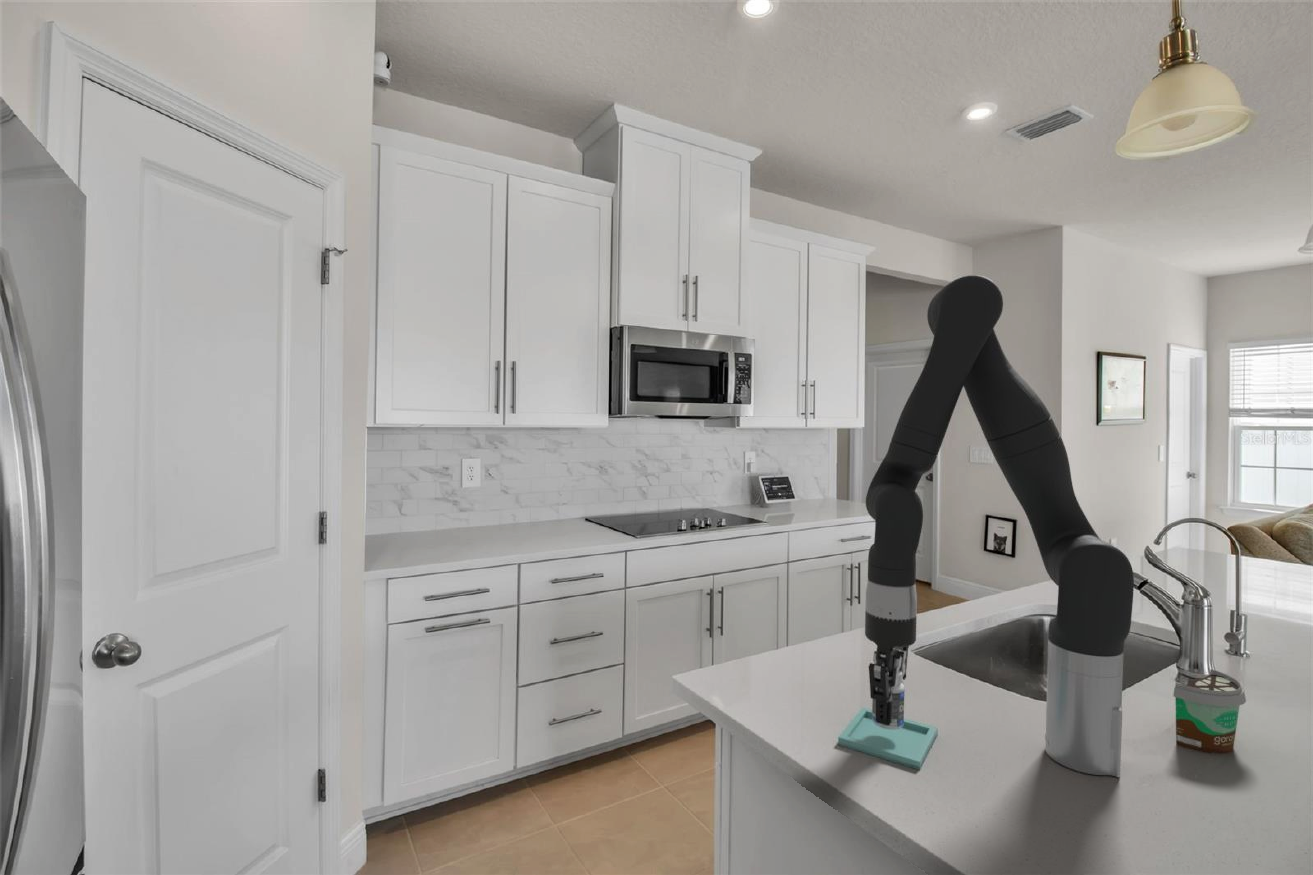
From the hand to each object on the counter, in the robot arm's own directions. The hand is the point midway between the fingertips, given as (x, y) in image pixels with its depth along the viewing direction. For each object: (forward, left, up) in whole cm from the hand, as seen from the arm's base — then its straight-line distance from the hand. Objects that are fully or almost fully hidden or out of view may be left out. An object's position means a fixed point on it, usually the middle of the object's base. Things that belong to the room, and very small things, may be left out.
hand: (888, 715), depth 100 cm
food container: (-42, -27, -4) cm, 50 cm away
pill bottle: (0, 0, -1) cm, 1 cm away
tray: (0, 0, -4) cm, 4 cm away
